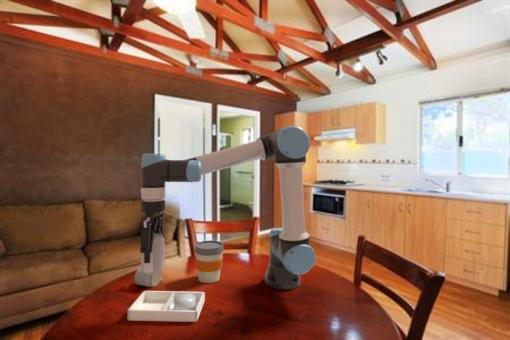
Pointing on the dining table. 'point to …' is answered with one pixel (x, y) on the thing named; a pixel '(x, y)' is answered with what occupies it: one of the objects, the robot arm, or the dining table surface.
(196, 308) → the caddy
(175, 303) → the white dome
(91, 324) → the dining table surface
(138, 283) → the ceramic mug
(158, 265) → the can
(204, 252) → the reusable coffee cup
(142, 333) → the dining table surface
